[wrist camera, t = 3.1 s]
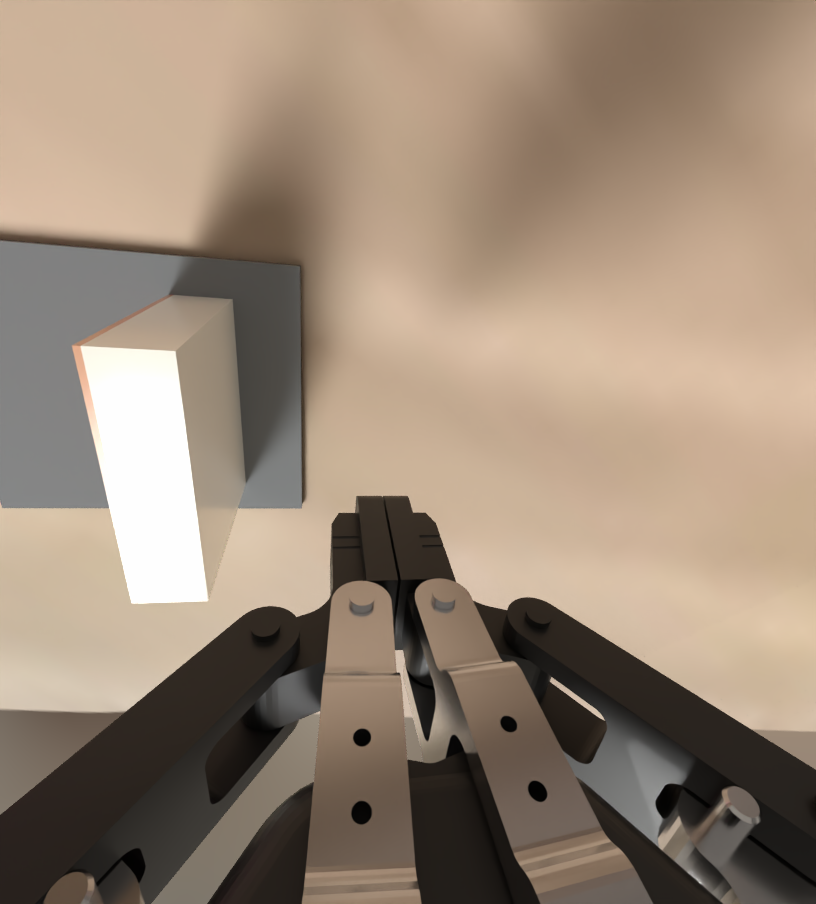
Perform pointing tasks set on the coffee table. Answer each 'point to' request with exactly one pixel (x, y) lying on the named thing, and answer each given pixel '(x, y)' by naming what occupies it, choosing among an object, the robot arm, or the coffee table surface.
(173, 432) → the tile
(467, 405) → the coffee table surface
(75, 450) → the mat
